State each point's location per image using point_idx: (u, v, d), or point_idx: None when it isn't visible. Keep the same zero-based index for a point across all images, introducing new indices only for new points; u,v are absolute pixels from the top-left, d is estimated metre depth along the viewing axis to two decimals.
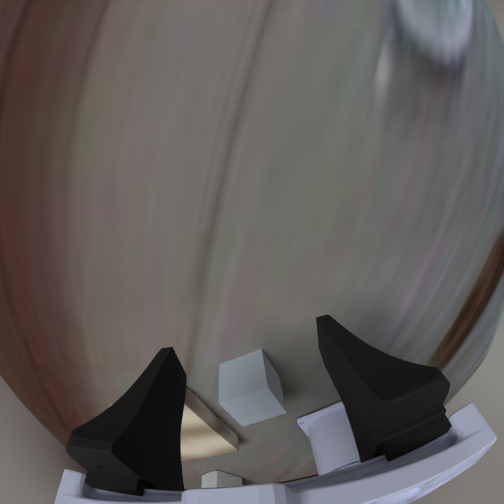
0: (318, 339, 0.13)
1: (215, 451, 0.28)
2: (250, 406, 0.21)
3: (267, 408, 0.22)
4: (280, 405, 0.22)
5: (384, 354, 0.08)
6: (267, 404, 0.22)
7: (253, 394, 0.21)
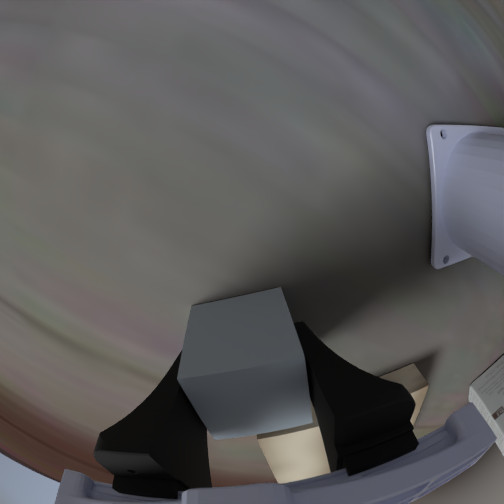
0: None
1: None
2: (240, 410, 0.10)
3: (261, 388, 0.09)
4: (263, 366, 0.09)
5: (350, 366, 0.08)
6: (245, 386, 0.09)
7: (198, 402, 0.09)
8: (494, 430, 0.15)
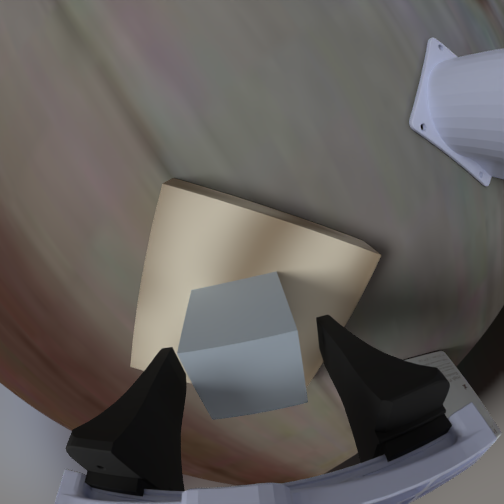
0: (318, 339, 0.13)
1: (345, 292, 0.15)
2: (237, 386, 0.11)
3: (256, 363, 0.10)
4: (259, 340, 0.10)
5: (384, 354, 0.08)
6: (241, 361, 0.10)
7: (197, 377, 0.10)
8: None
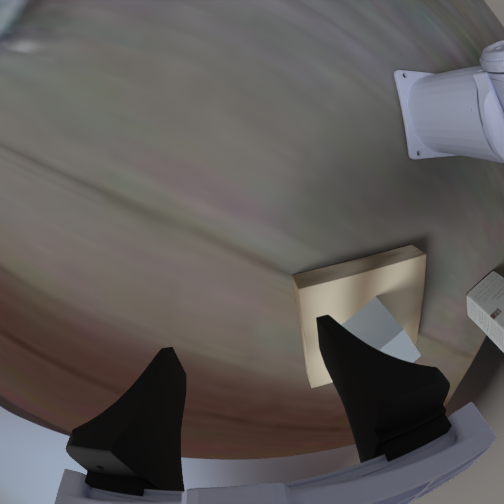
0: (318, 339, 0.13)
1: (415, 284, 0.22)
2: None
3: (391, 351, 0.18)
4: (389, 342, 0.18)
5: (384, 354, 0.08)
6: None
7: None
8: (496, 333, 0.21)
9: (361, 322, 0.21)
